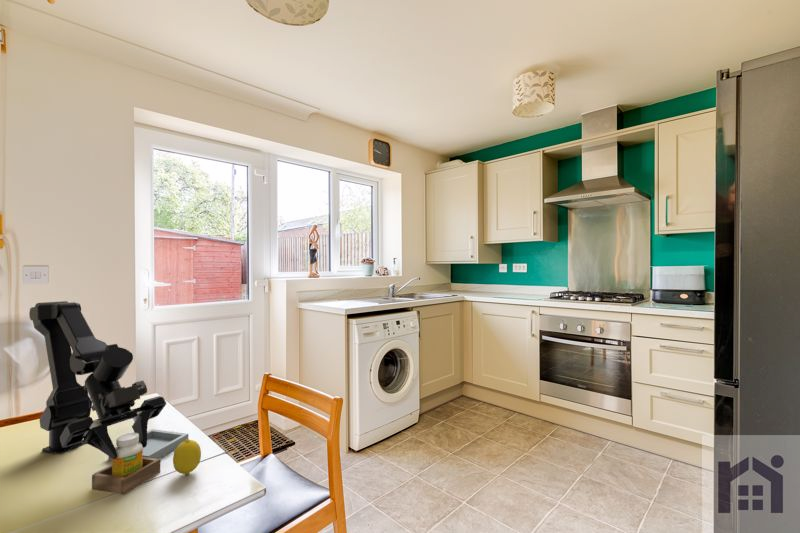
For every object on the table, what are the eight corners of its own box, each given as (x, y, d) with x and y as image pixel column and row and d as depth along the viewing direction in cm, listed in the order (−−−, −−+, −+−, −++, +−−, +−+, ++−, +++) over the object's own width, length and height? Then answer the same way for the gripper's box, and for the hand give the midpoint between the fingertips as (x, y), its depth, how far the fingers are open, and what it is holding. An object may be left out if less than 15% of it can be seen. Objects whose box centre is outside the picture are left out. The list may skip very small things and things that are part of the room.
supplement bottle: (122, 490, 77) (123, 444, 77) (106, 484, 78) (106, 439, 79) (148, 476, 82) (148, 433, 82) (131, 471, 84) (132, 429, 84)
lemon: (188, 483, 79) (188, 446, 79) (166, 480, 80) (167, 443, 80) (206, 469, 85) (206, 435, 85) (186, 466, 86) (186, 432, 86)
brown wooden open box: (91, 488, 77) (91, 474, 77) (130, 467, 85) (130, 454, 85) (124, 494, 75) (124, 480, 75) (160, 472, 83) (160, 459, 83)
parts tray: (108, 459, 89) (108, 450, 89) (152, 436, 101) (152, 429, 101) (148, 465, 86) (148, 456, 86) (188, 441, 98) (188, 433, 98)
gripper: (66, 384, 74) (91, 451, 69) (162, 363, 90) (188, 416, 85) (49, 415, 78) (72, 481, 72) (144, 389, 94) (169, 441, 89)
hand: (131, 452), depth 79 cm, fingers closed on supplement bottle, 5 cm apart
